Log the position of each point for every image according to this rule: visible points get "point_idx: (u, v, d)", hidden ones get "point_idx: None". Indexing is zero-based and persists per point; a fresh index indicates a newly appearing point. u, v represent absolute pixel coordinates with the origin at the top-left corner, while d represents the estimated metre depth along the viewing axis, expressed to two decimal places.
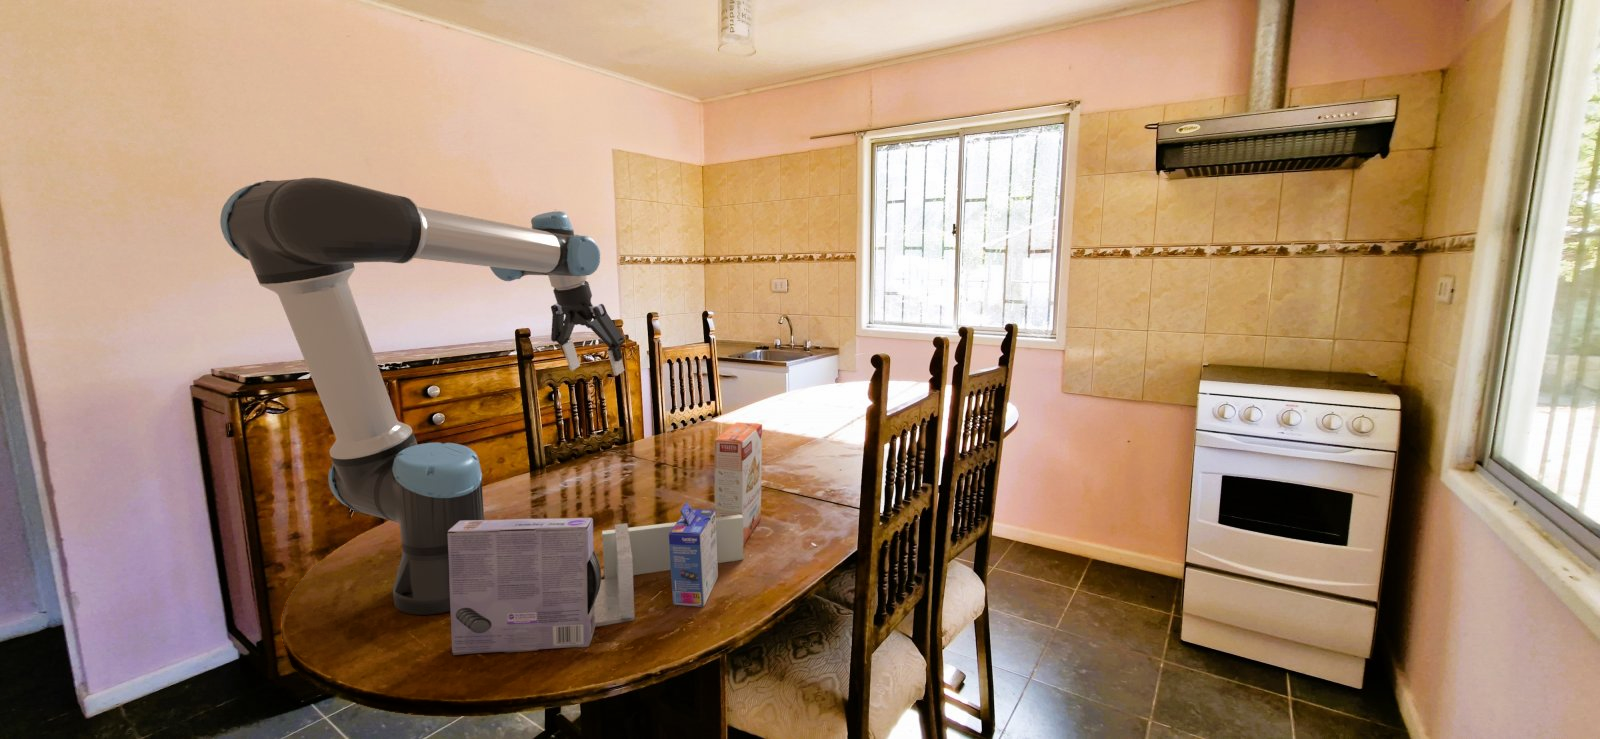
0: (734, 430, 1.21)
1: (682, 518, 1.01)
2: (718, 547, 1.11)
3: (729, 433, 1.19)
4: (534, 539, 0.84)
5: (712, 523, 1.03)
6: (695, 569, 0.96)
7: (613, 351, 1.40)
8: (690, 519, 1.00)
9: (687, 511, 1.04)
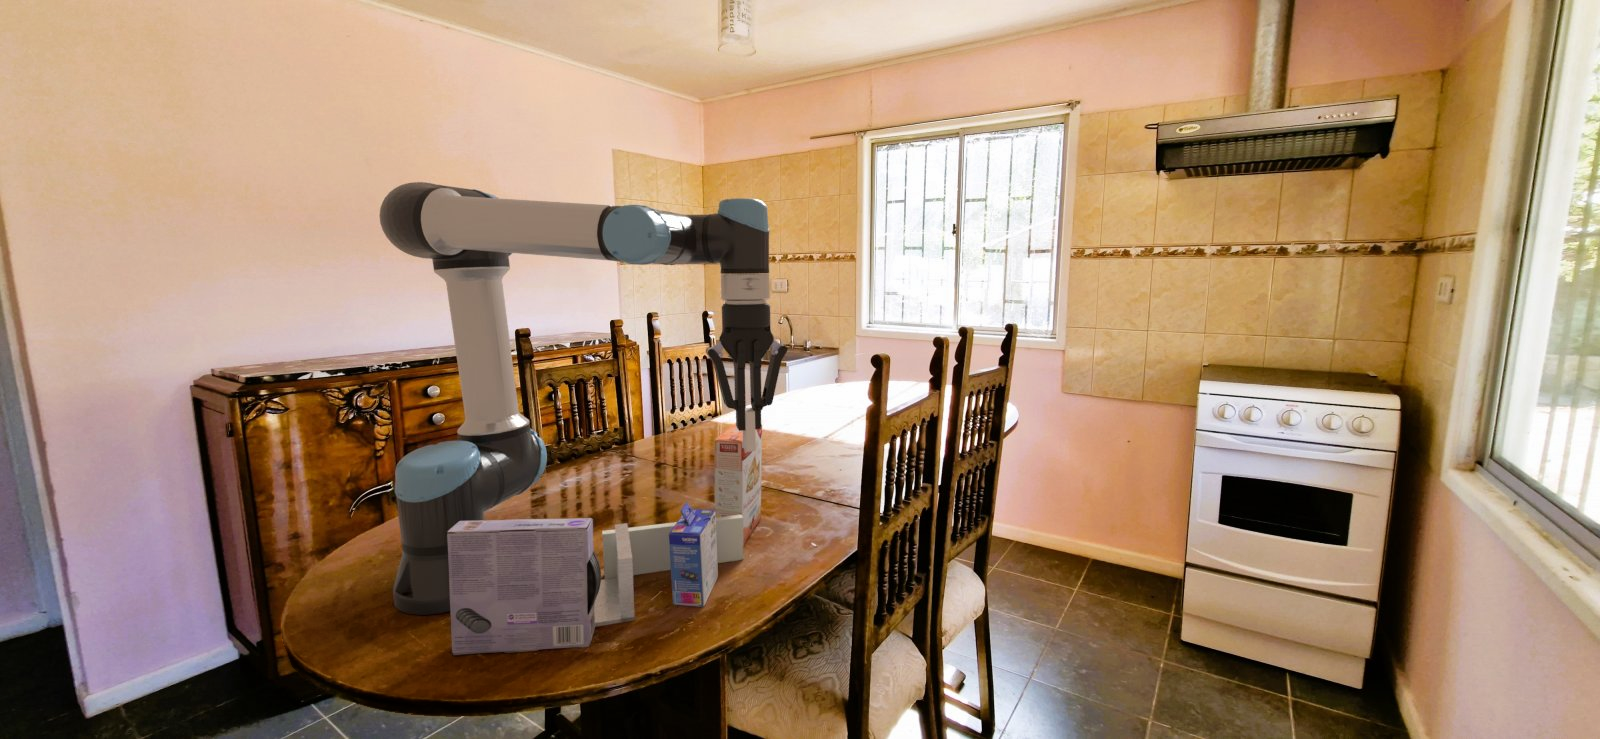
0: (734, 430, 1.21)
1: (682, 518, 1.01)
2: (718, 547, 1.11)
3: (729, 433, 1.19)
4: (534, 539, 0.84)
5: (712, 523, 1.03)
6: (695, 569, 0.96)
7: None
8: (690, 519, 1.00)
9: (687, 511, 1.04)
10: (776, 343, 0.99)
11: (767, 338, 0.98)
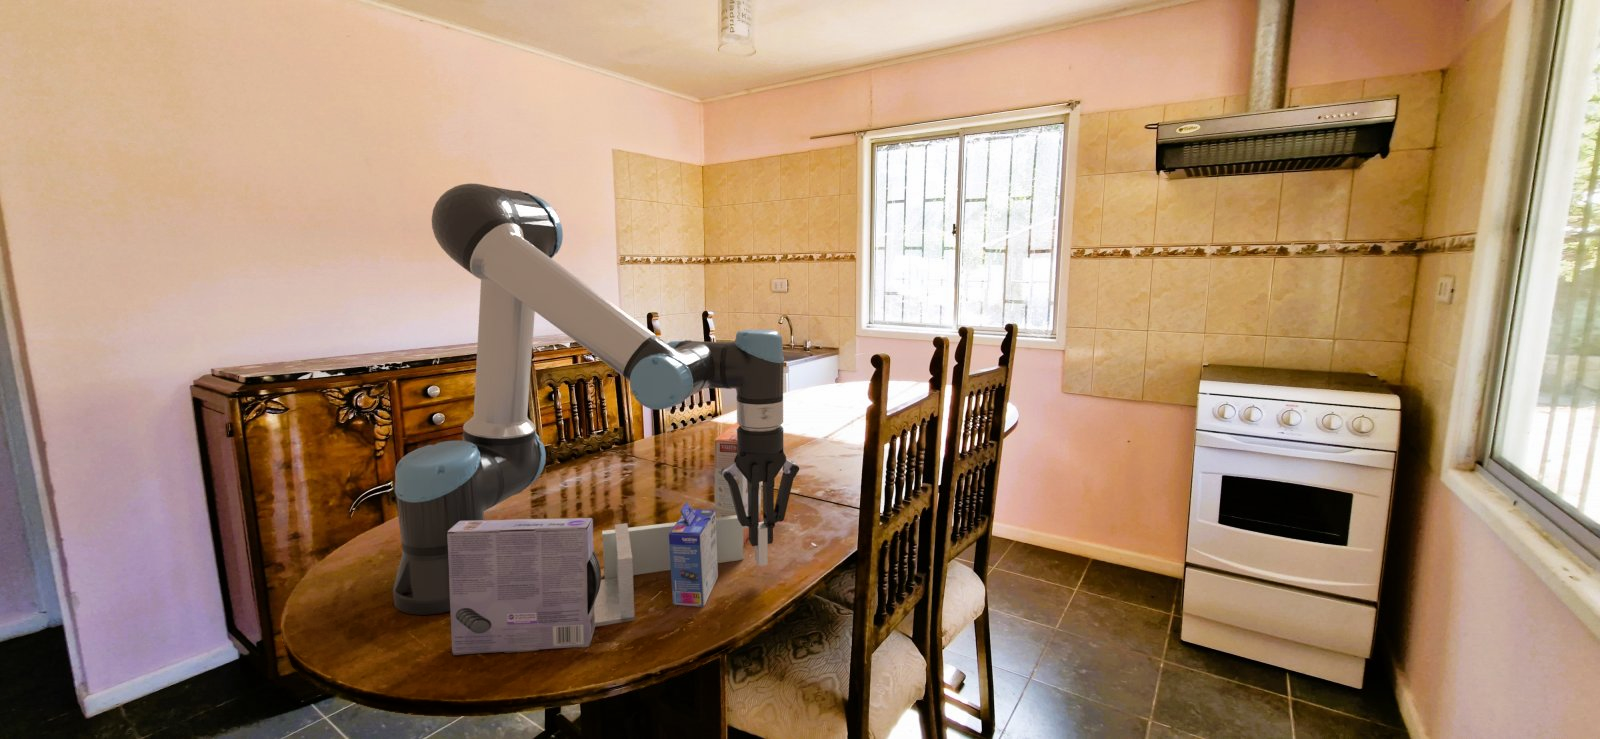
0: (734, 430, 1.21)
1: (682, 518, 1.01)
2: (718, 547, 1.11)
3: (729, 433, 1.19)
4: (534, 539, 0.84)
5: (712, 523, 1.03)
6: (695, 569, 0.96)
7: None
8: (690, 519, 1.00)
9: (687, 511, 1.04)
10: (788, 462, 1.03)
11: (780, 459, 1.02)
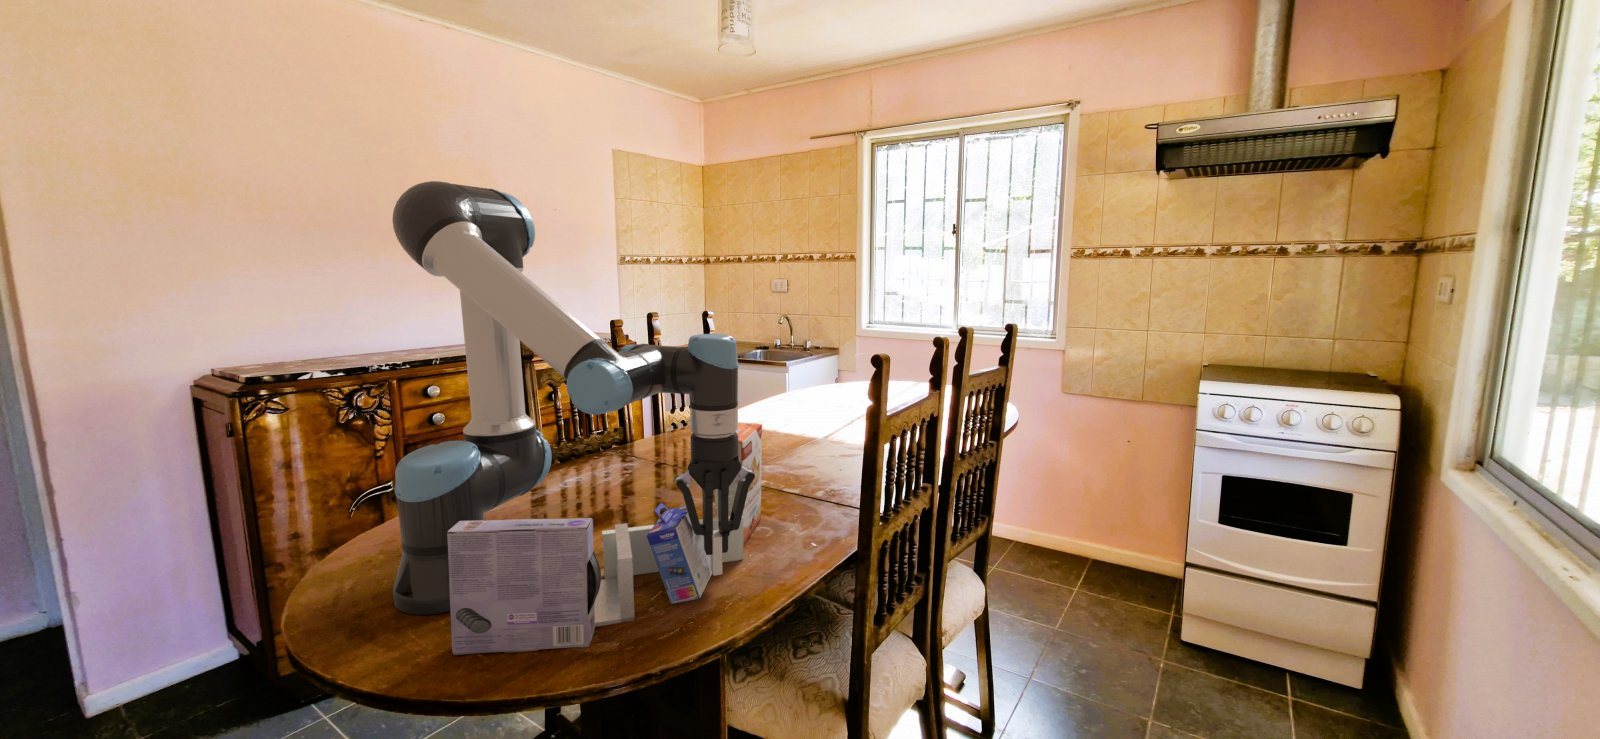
0: None
1: (660, 519, 1.01)
2: None
3: None
4: (534, 539, 0.84)
5: None
6: (681, 563, 0.96)
7: None
8: (667, 517, 1.00)
9: (666, 512, 1.04)
10: (744, 470, 1.01)
11: (735, 467, 1.00)
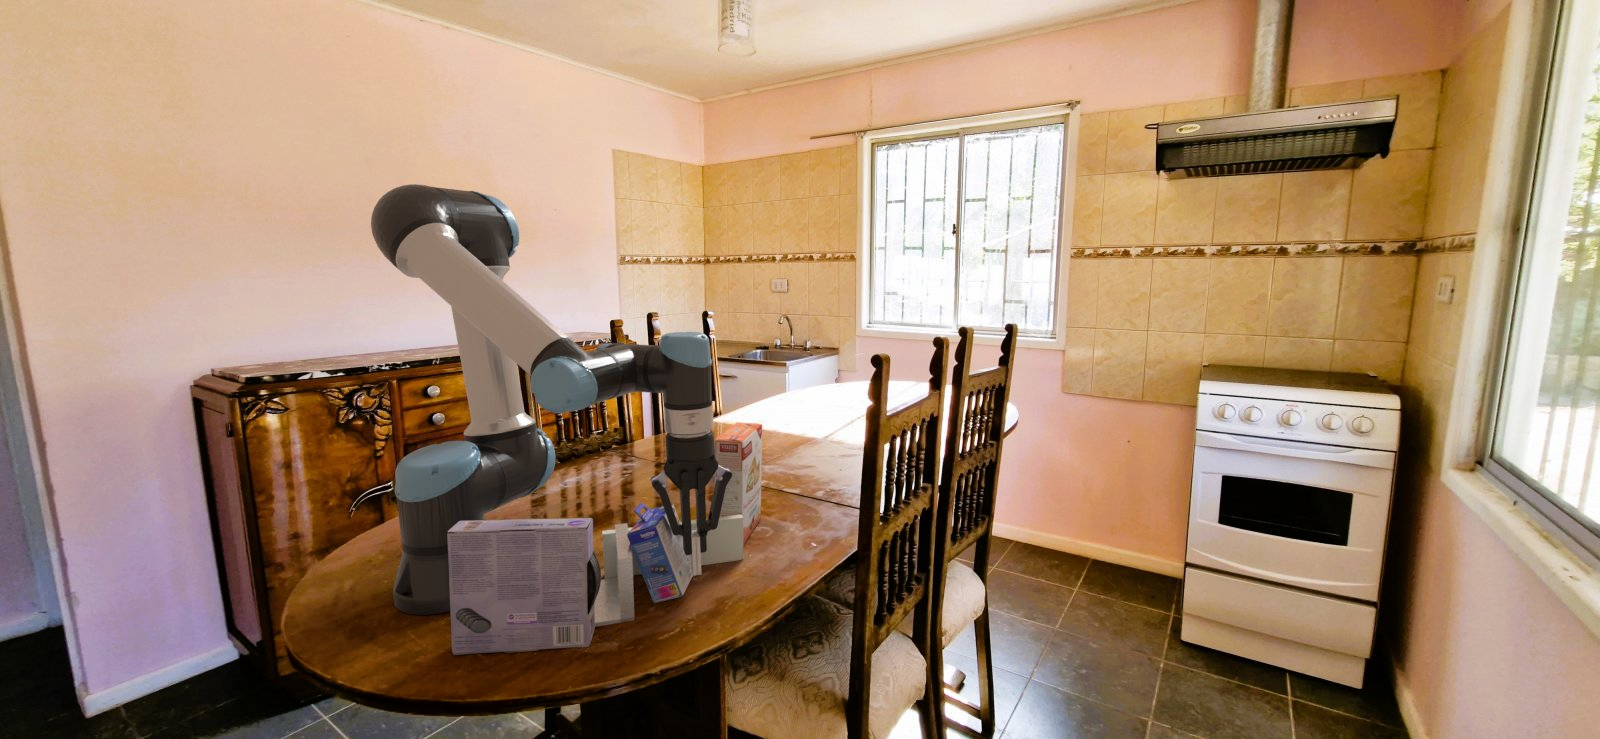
0: (734, 430, 1.21)
1: (640, 519, 1.01)
2: (718, 547, 1.11)
3: (729, 433, 1.19)
4: (534, 539, 0.84)
5: None
6: (662, 561, 0.96)
7: None
8: (647, 517, 1.00)
9: None
10: (721, 469, 1.00)
11: (711, 466, 0.99)
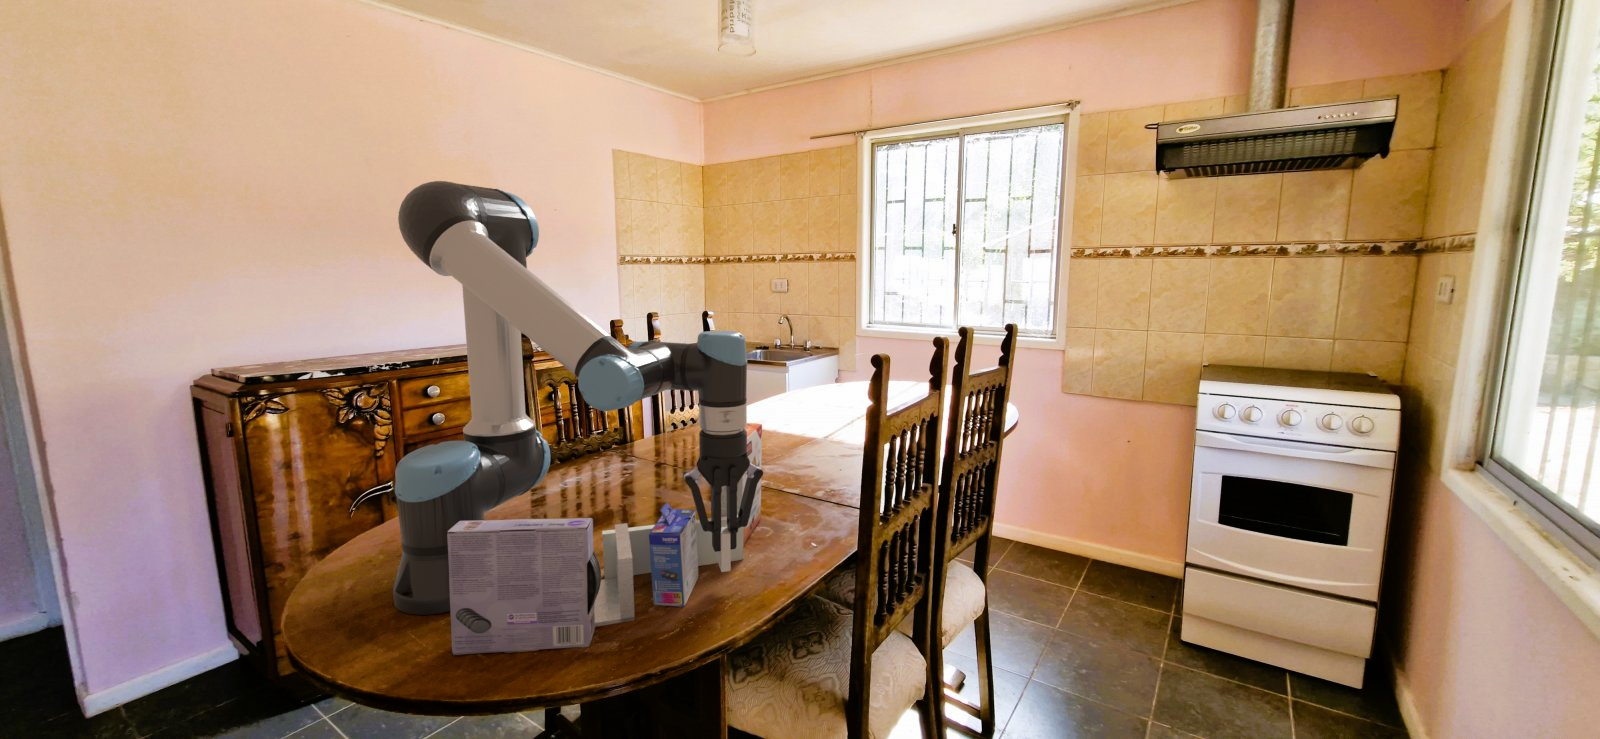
0: None
1: (662, 518, 1.01)
2: None
3: None
4: (534, 539, 0.84)
5: (692, 523, 1.03)
6: (676, 569, 0.96)
7: None
8: (670, 519, 1.00)
9: (667, 511, 1.04)
10: (752, 467, 1.01)
11: (743, 463, 1.00)
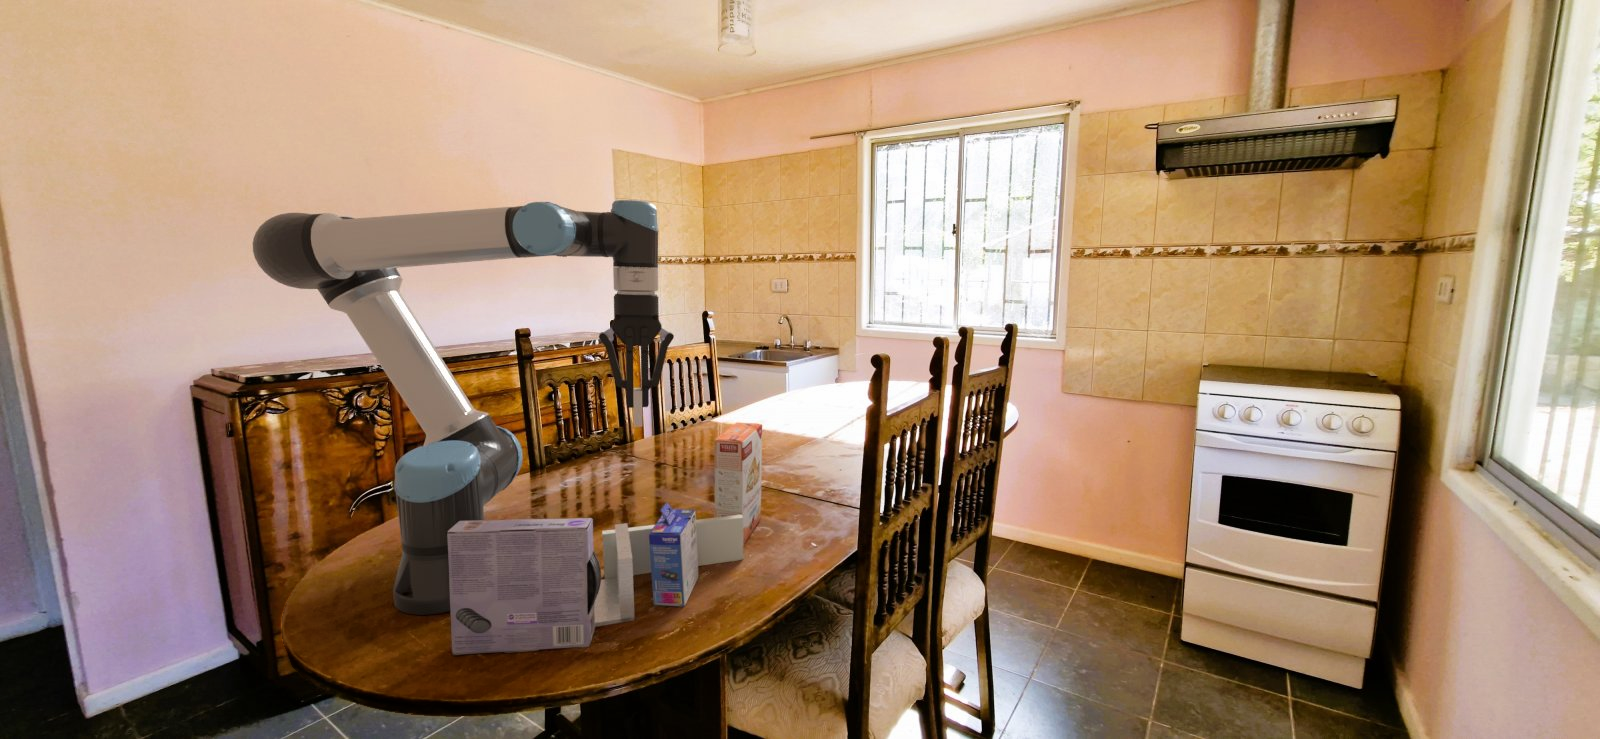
0: (734, 430, 1.21)
1: (662, 518, 1.01)
2: (718, 547, 1.11)
3: (729, 433, 1.19)
4: (534, 539, 0.84)
5: (692, 523, 1.03)
6: (676, 569, 0.96)
7: None
8: (670, 519, 1.00)
9: (667, 511, 1.04)
10: (664, 331, 1.10)
11: (655, 326, 1.09)
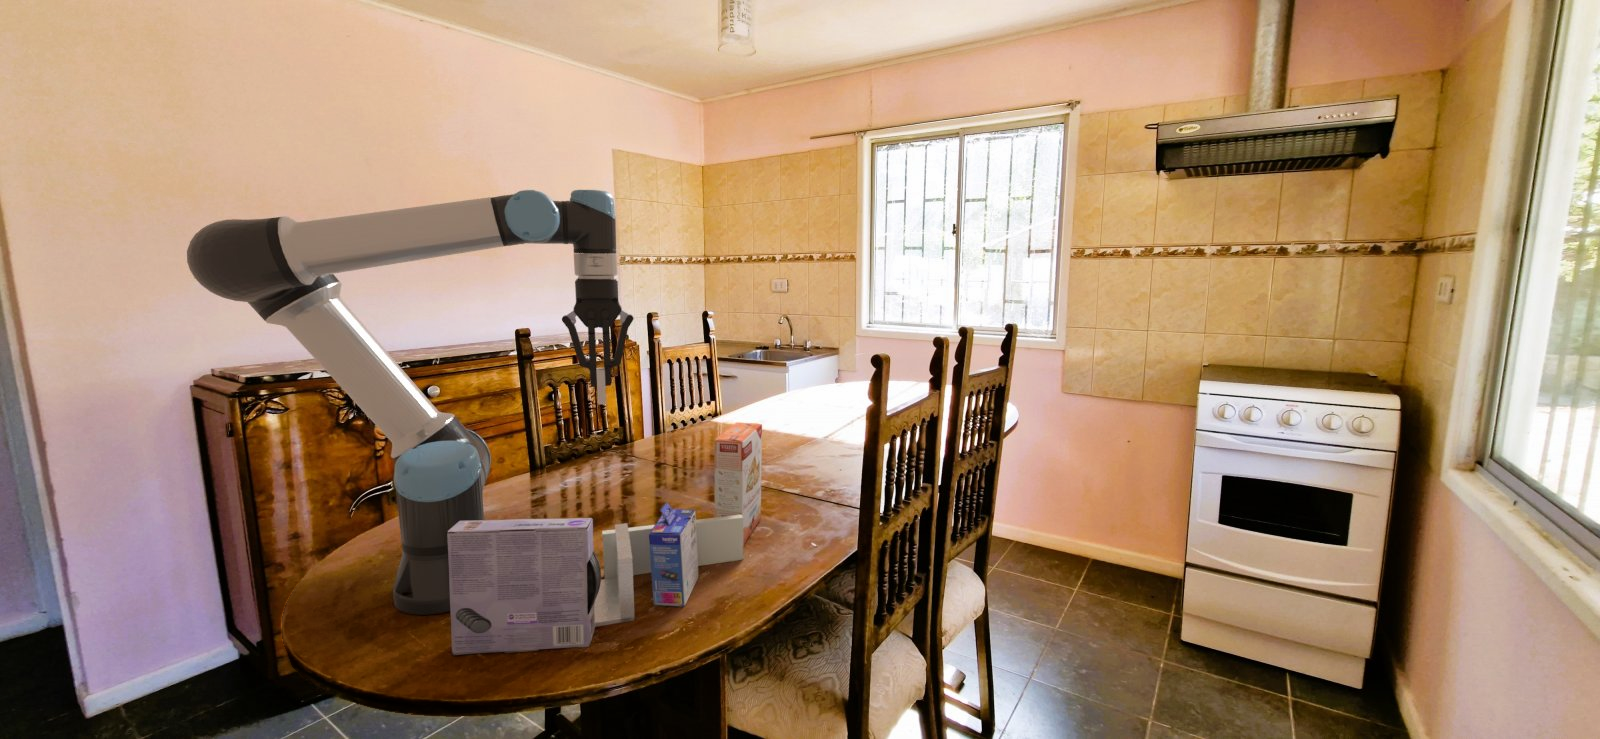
0: (734, 430, 1.21)
1: (662, 518, 1.01)
2: (718, 547, 1.11)
3: (729, 433, 1.19)
4: (534, 539, 0.84)
5: (692, 523, 1.03)
6: (676, 569, 0.96)
7: None
8: (670, 519, 1.00)
9: (667, 511, 1.04)
10: (624, 313, 1.17)
11: (615, 308, 1.16)
